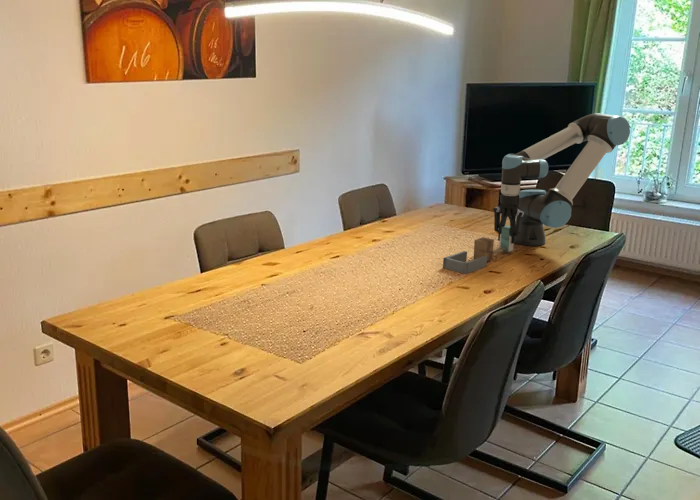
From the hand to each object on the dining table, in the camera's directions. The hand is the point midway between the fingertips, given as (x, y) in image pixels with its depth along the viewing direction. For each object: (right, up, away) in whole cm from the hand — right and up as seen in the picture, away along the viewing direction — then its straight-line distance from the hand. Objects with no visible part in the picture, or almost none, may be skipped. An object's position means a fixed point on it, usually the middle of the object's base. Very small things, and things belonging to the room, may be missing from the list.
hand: (506, 249), depth 286 cm
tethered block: (-6, -2, -6) cm, 9 cm away
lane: (-20, -7, -20) cm, 30 cm away
